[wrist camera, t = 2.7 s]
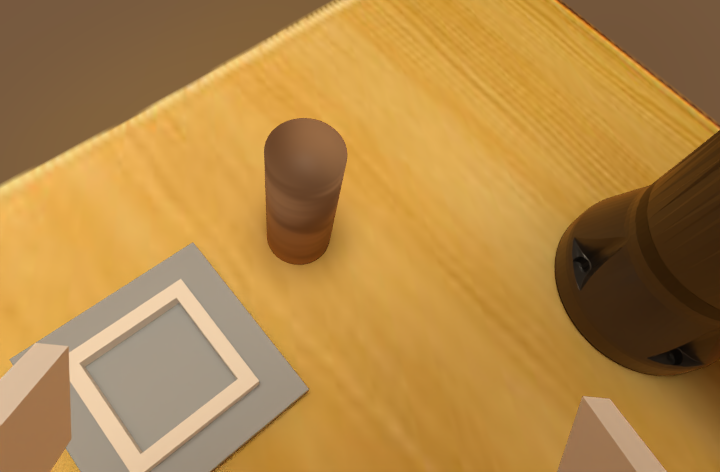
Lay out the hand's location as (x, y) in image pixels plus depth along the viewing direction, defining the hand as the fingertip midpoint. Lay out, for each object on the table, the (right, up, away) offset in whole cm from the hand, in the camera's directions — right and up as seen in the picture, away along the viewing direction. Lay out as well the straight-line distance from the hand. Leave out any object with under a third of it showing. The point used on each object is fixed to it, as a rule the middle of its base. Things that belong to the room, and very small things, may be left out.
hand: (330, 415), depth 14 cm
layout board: (-13, -5, +24) cm, 27 cm away
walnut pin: (-4, +5, +30) cm, 30 cm away
